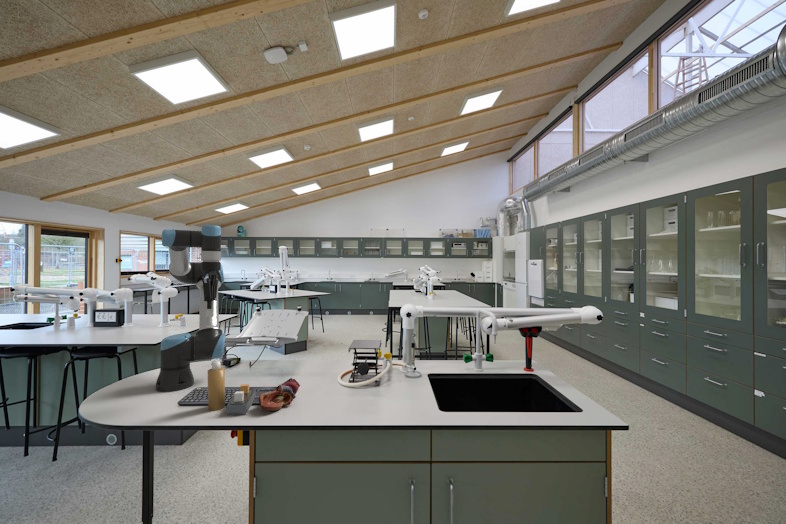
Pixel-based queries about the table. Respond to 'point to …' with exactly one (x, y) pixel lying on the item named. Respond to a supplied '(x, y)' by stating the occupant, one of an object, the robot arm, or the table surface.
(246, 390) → the paddle
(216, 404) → the amber pump bottle
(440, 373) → the table surface
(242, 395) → the paddle
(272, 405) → the anatomical model
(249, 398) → the breaker strip
